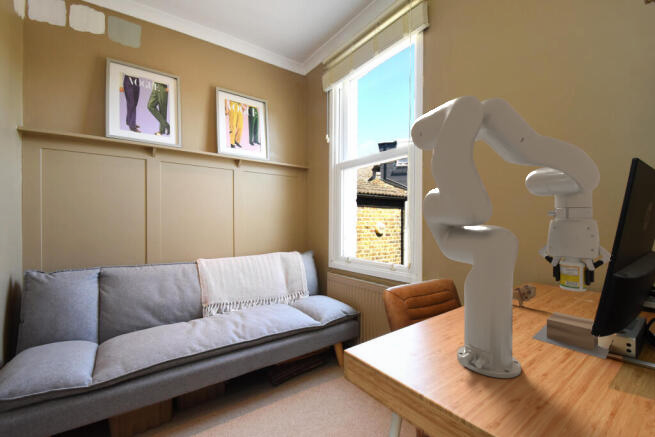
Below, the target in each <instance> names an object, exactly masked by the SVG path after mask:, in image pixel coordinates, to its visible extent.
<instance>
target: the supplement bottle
mask: <svg viewBox="0 0 655 437" xmlns="http://www.w3.org/2000/svg"><path fill="white" fill-rule="evenodd" d="M562 258H563V259H561V260H560V281H559V287H560V288H561V289H562V290H565V291H571V292H586V291H587V285H585V270H587V264H586V262H585V261H583V260H584V259H580V258H568V257H562Z"/></svg>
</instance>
